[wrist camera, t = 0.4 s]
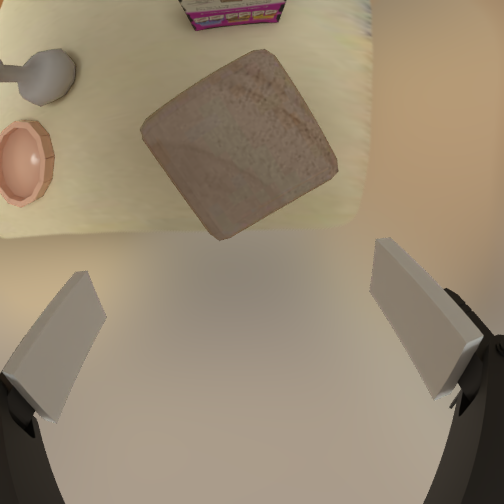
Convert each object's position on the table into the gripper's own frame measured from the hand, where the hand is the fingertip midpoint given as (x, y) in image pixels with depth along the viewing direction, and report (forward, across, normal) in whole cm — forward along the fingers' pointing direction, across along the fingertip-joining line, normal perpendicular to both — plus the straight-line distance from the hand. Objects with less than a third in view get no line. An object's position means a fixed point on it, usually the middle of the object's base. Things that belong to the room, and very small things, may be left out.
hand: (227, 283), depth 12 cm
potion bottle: (+27, -25, +20) cm, 42 cm away
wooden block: (+27, +1, +5) cm, 28 cm away
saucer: (+27, -34, +9) cm, 45 cm away
